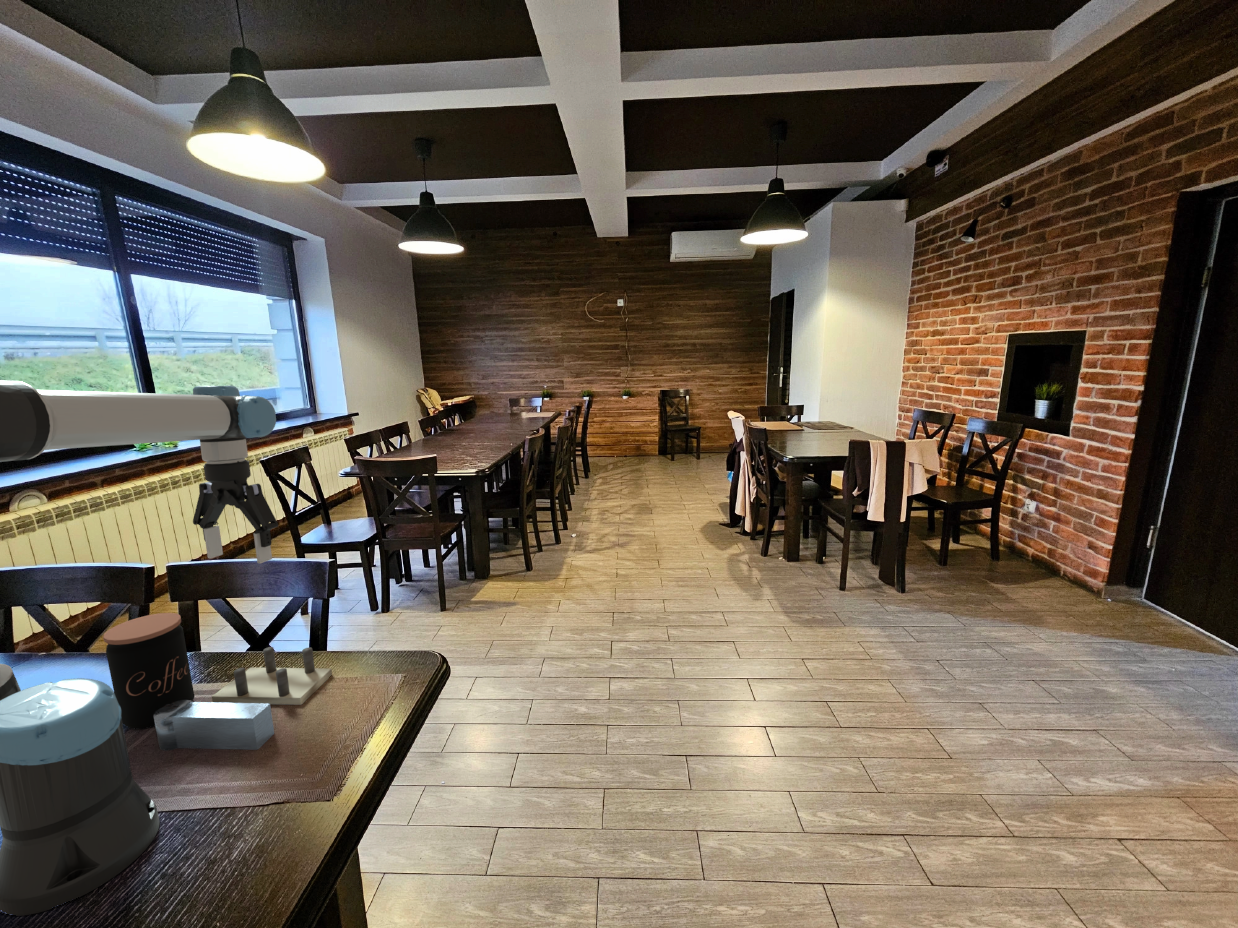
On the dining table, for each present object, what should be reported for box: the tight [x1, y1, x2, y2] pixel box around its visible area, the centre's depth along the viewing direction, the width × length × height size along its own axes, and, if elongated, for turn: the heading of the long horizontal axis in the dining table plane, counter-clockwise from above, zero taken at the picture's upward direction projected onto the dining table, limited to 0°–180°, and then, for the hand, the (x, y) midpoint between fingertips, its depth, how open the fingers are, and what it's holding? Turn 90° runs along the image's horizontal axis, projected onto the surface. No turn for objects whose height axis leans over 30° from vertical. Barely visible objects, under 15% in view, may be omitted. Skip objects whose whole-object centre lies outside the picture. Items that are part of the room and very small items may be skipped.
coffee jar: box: [102, 612, 195, 730], centre depth 95 cm, size 11×11×18 cm
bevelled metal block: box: [154, 700, 275, 751], centre depth 88 cm, size 19×5×6 cm, turn 88°
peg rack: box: [211, 646, 333, 706], centre depth 103 cm, size 10×18×6 cm, turn 87°
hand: (239, 558), depth 108 cm, fingers open, 13 cm apart
